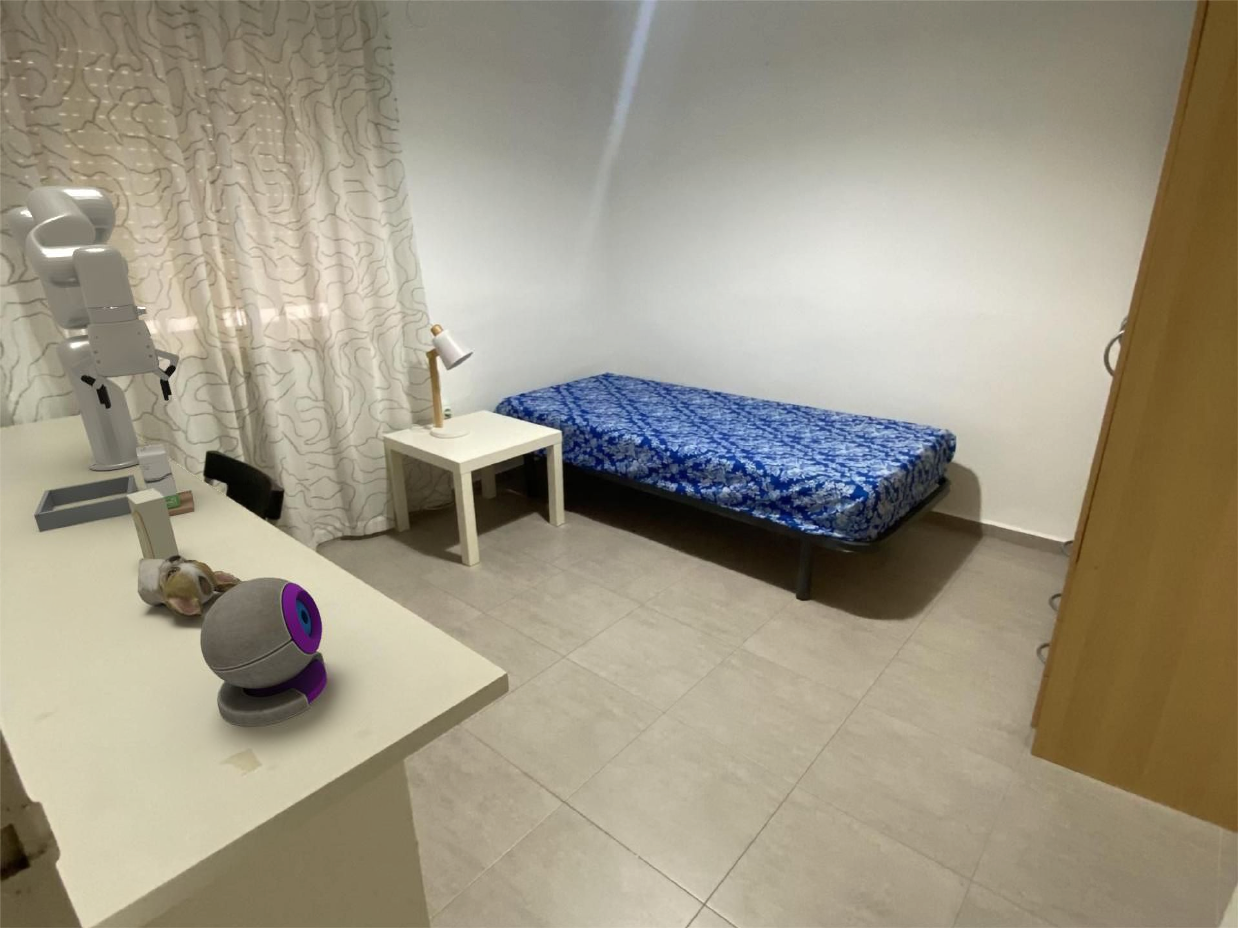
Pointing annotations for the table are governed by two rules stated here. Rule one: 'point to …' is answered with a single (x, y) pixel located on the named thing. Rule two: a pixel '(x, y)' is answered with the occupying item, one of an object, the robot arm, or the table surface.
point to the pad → (183, 504)
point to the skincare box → (153, 524)
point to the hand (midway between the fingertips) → (138, 403)
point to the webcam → (264, 651)
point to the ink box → (158, 472)
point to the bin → (86, 512)
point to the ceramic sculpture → (181, 584)
